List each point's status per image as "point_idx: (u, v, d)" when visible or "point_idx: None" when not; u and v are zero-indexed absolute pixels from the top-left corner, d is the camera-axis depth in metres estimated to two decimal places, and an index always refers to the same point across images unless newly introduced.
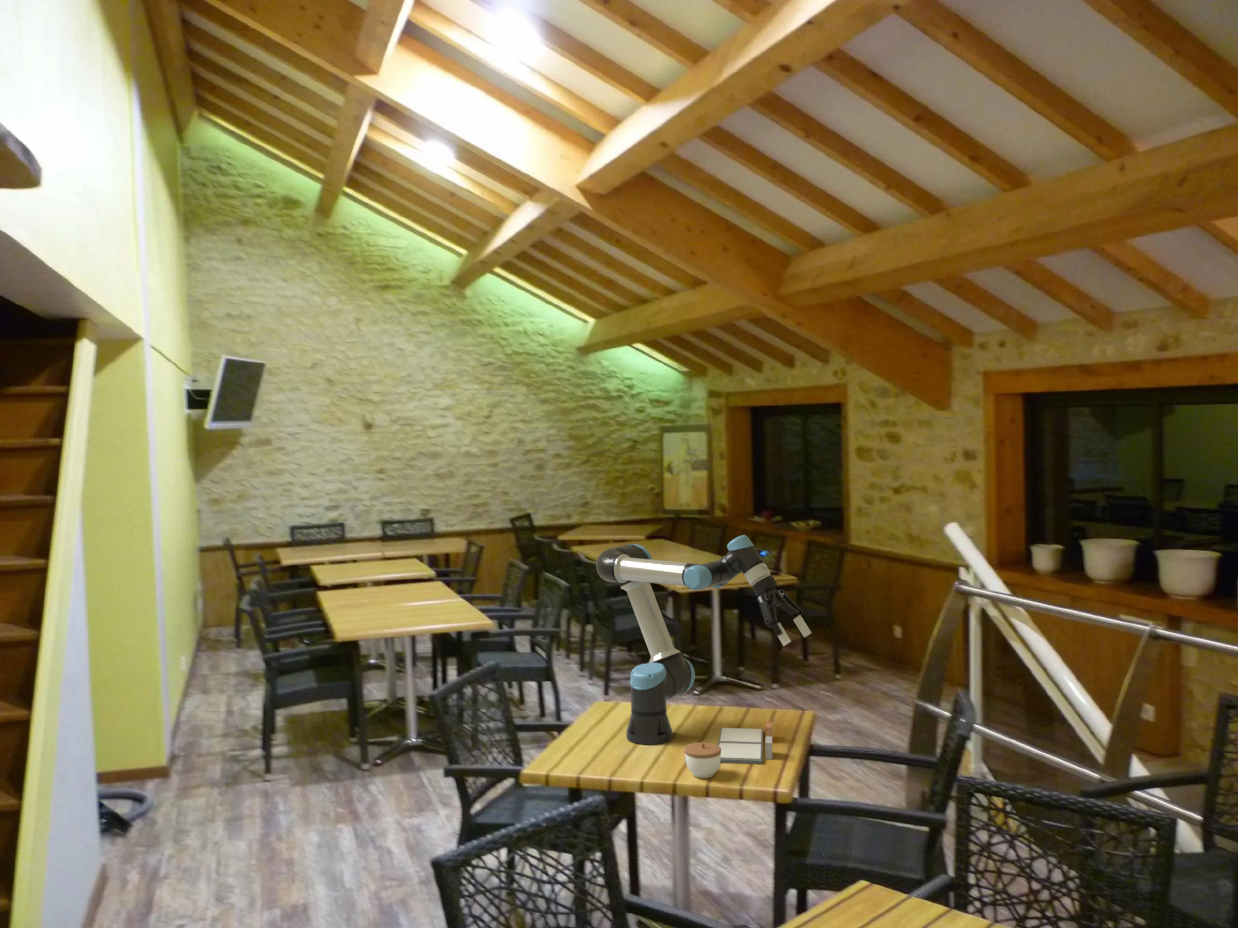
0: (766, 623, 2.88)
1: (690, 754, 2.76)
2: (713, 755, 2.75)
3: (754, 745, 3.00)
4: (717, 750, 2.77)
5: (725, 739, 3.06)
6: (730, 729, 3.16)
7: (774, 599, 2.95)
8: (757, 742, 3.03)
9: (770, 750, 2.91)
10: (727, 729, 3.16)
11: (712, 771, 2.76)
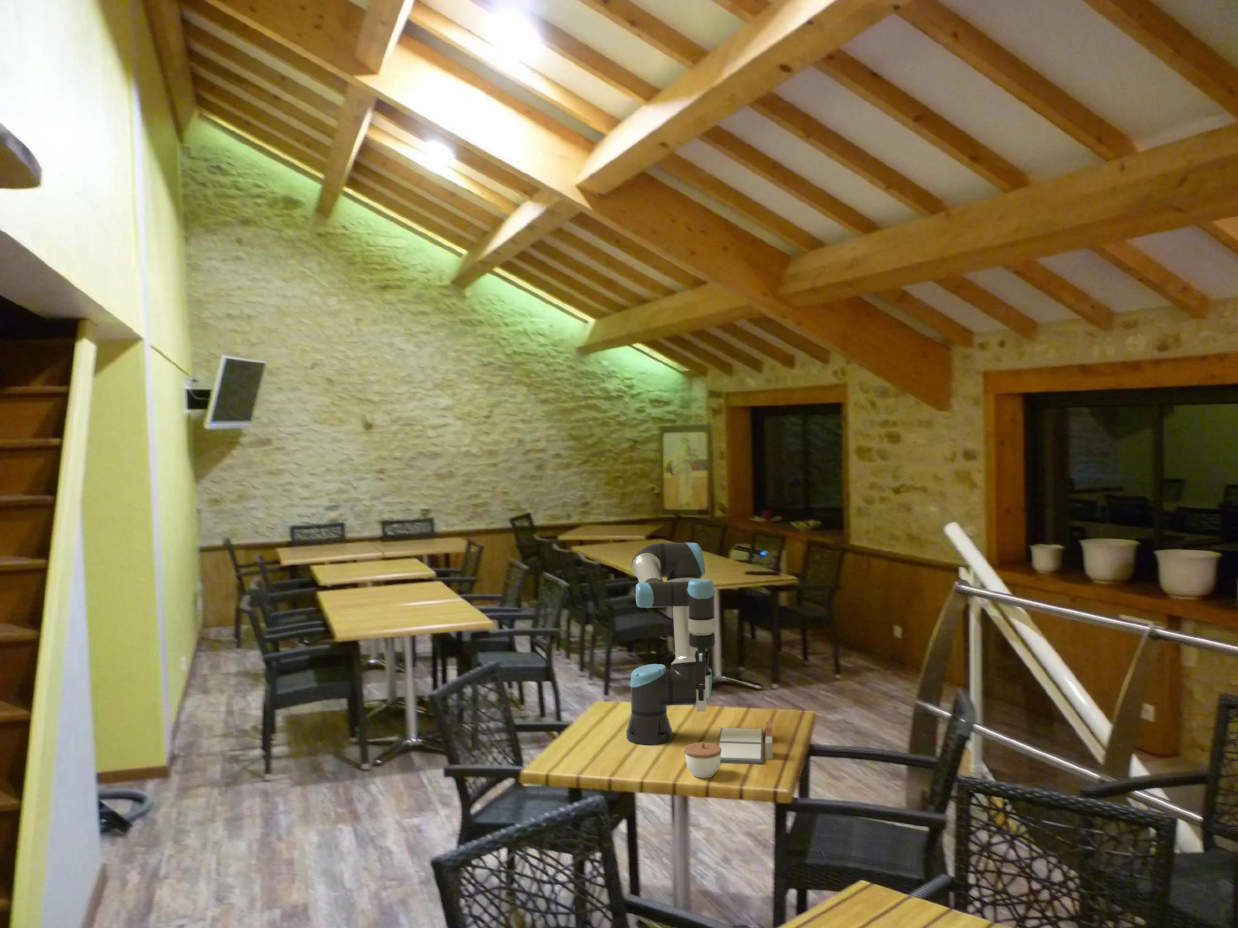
0: (697, 686, 2.69)
1: (690, 754, 2.76)
2: (713, 755, 2.75)
3: (754, 745, 3.00)
4: (717, 750, 2.77)
5: (725, 739, 3.06)
6: (730, 729, 3.16)
7: (707, 660, 2.76)
8: (757, 742, 3.03)
9: (770, 750, 2.91)
10: (727, 729, 3.16)
11: (712, 771, 2.76)
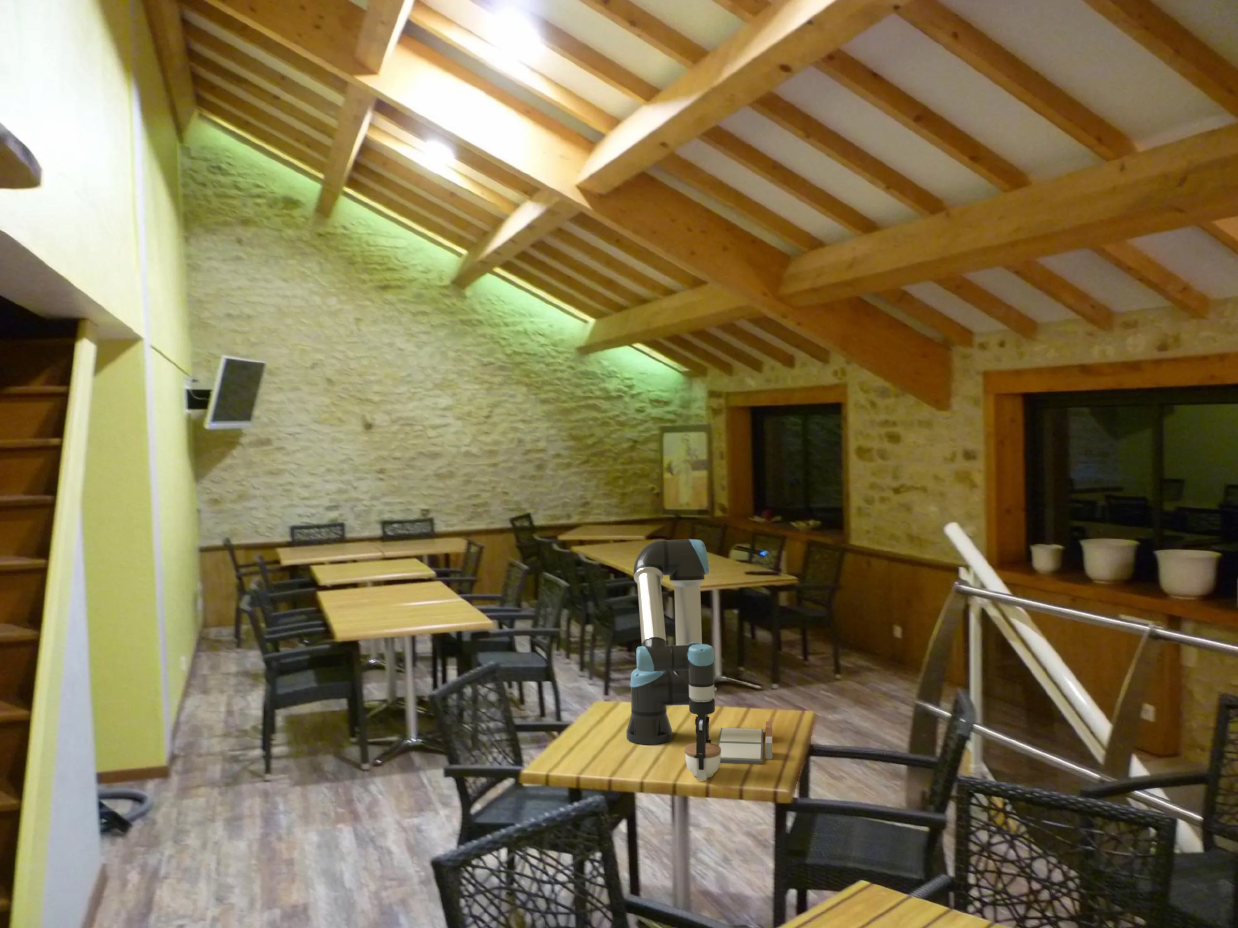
0: (697, 756, 2.71)
1: (690, 754, 2.76)
2: (713, 755, 2.75)
3: (754, 745, 3.00)
4: (717, 750, 2.77)
5: (725, 739, 3.06)
6: (730, 729, 3.16)
7: (707, 726, 2.77)
8: (757, 742, 3.03)
9: (770, 750, 2.91)
10: (727, 729, 3.16)
11: (712, 771, 2.76)
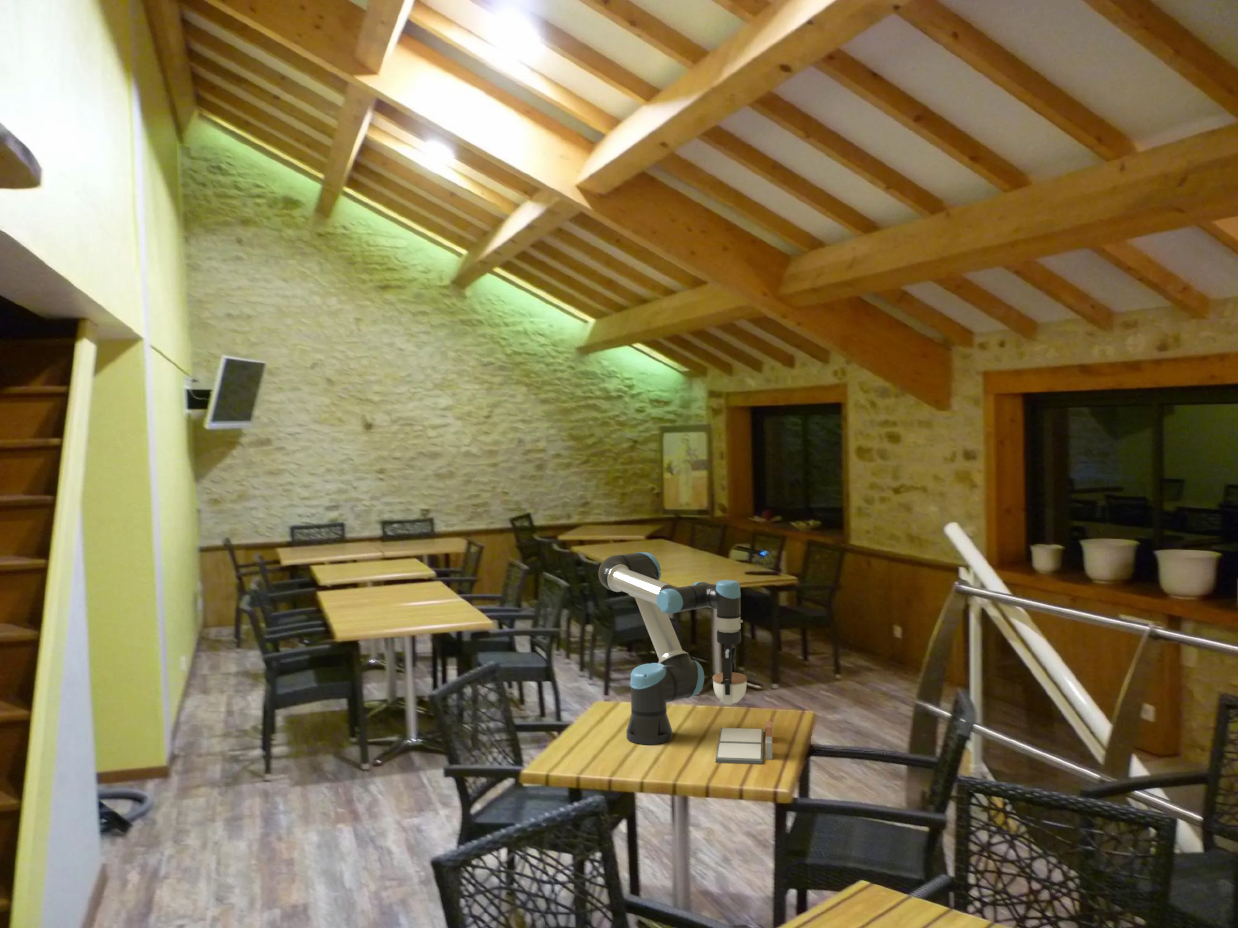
0: (724, 681, 2.91)
1: (717, 681, 2.97)
2: (739, 682, 2.95)
3: (754, 745, 3.00)
4: (743, 678, 2.98)
5: (725, 739, 3.06)
6: (730, 729, 3.16)
7: (733, 655, 2.97)
8: (757, 742, 3.03)
9: (770, 750, 2.91)
10: (727, 729, 3.16)
11: (738, 697, 2.96)
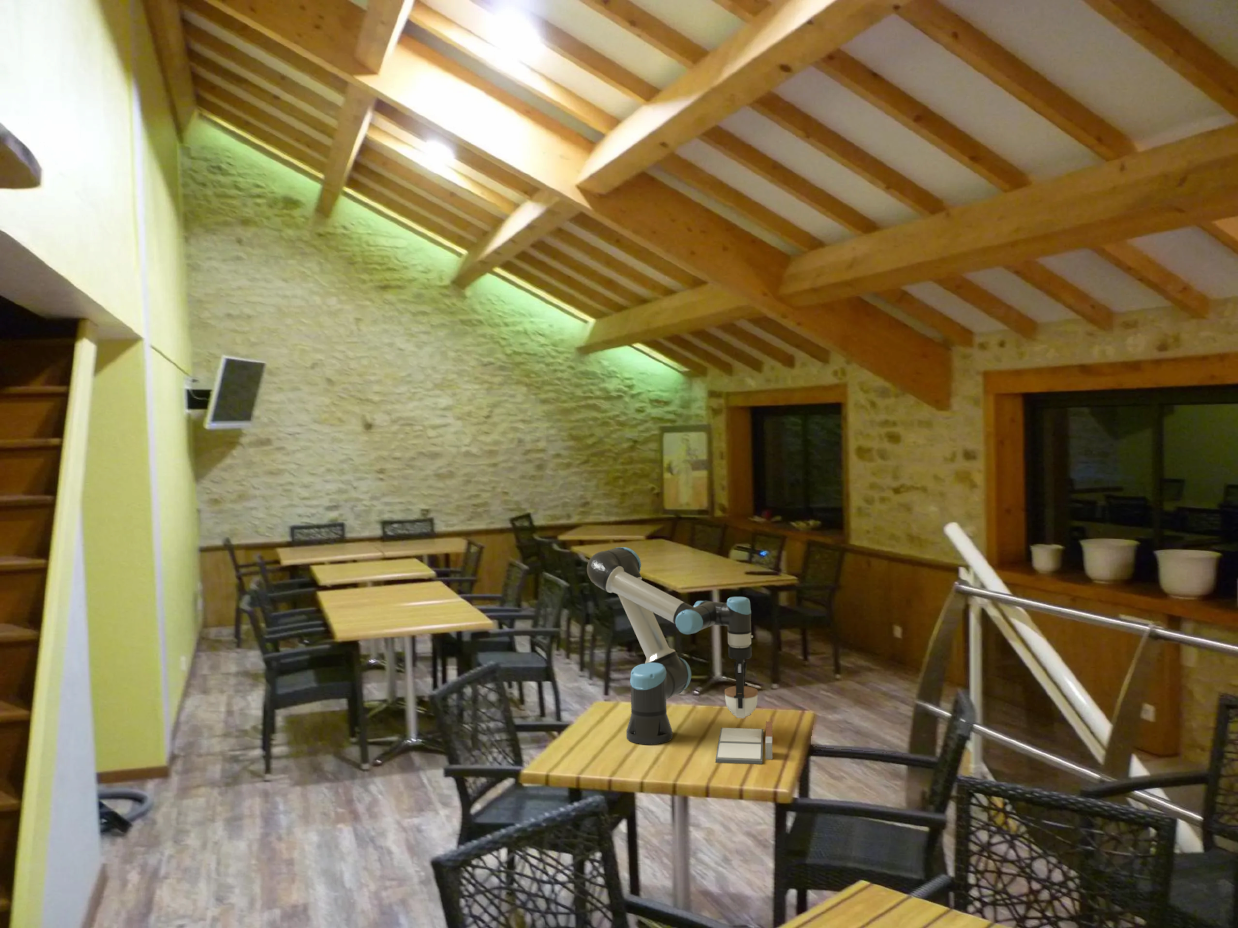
0: (737, 695, 3.01)
1: (730, 695, 3.06)
2: (751, 695, 3.05)
3: (754, 745, 3.00)
4: (754, 691, 3.07)
5: (725, 739, 3.06)
6: (730, 729, 3.16)
7: (745, 670, 3.07)
8: (757, 742, 3.03)
9: (770, 750, 2.91)
10: (727, 729, 3.16)
11: (750, 710, 3.06)
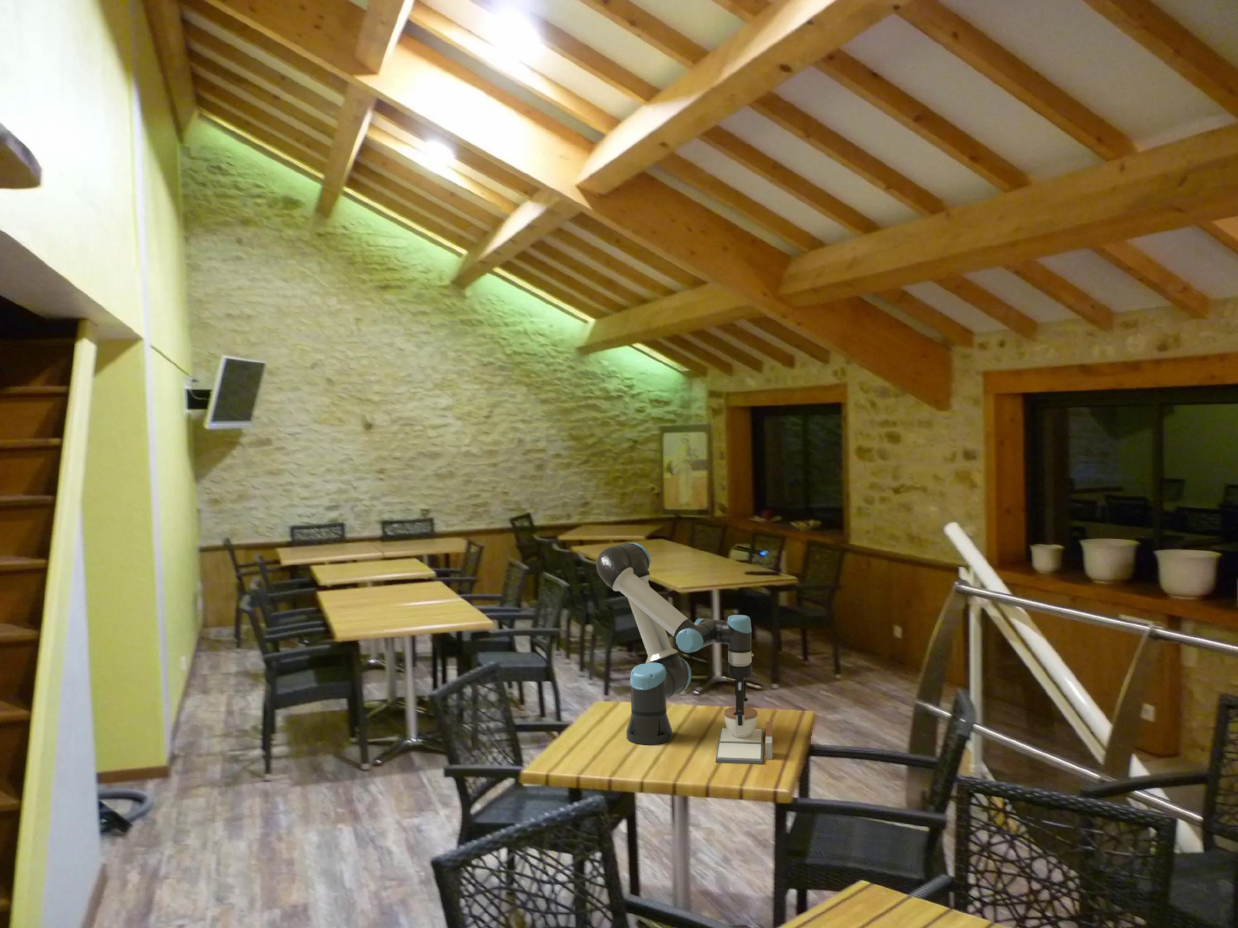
0: (737, 712, 3.00)
1: (730, 716, 3.06)
2: (751, 717, 3.05)
3: (754, 745, 3.00)
4: (754, 713, 3.08)
5: (725, 739, 3.06)
6: None
7: (745, 688, 3.07)
8: (757, 742, 3.03)
9: (770, 750, 2.91)
10: (727, 729, 3.16)
11: (750, 731, 3.06)
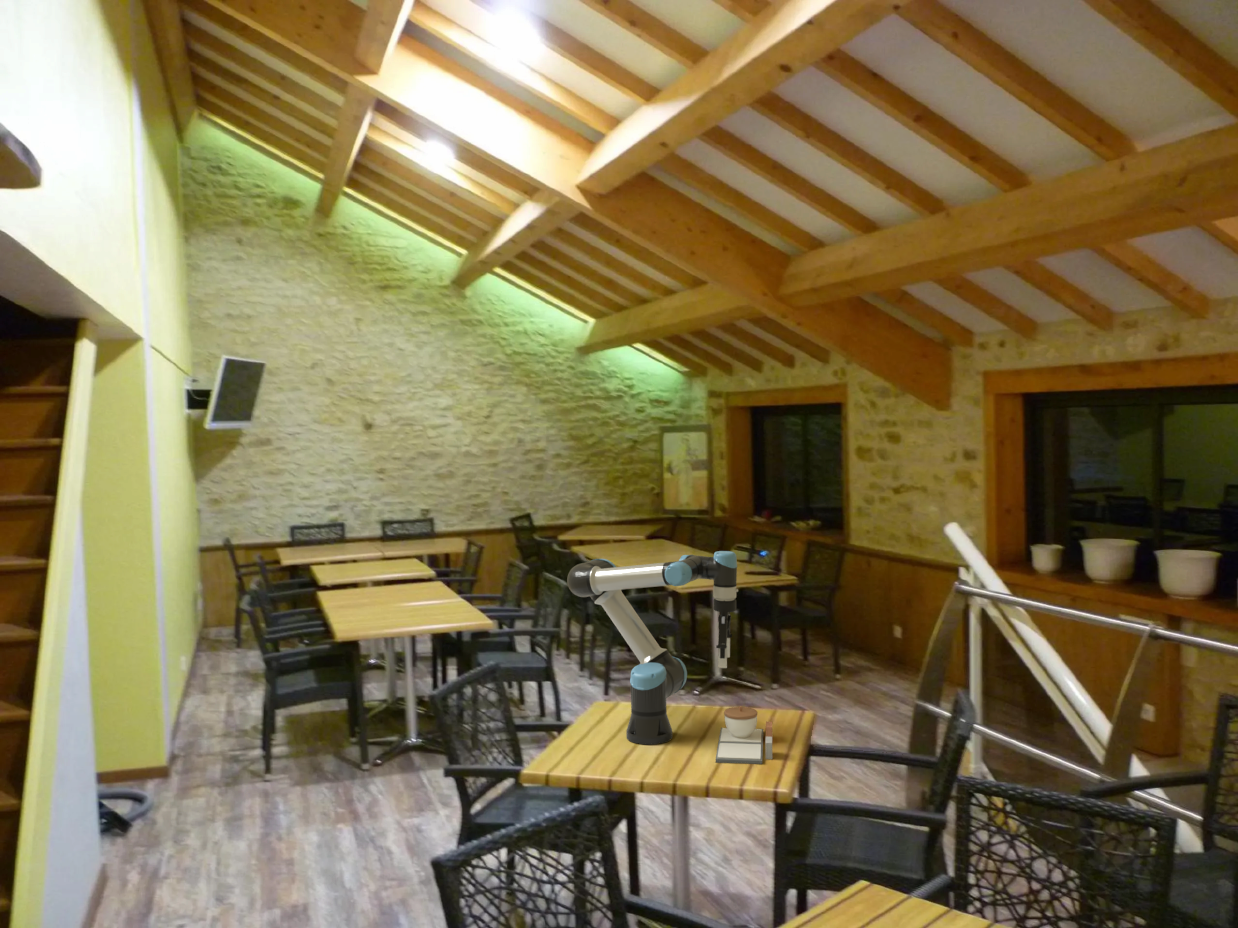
0: (719, 645, 3.04)
1: (730, 716, 3.06)
2: (751, 717, 3.05)
3: (754, 745, 3.00)
4: (754, 713, 3.08)
5: (725, 739, 3.06)
6: None
7: (729, 623, 3.11)
8: (757, 742, 3.03)
9: (770, 750, 2.91)
10: (727, 729, 3.16)
11: (750, 731, 3.06)
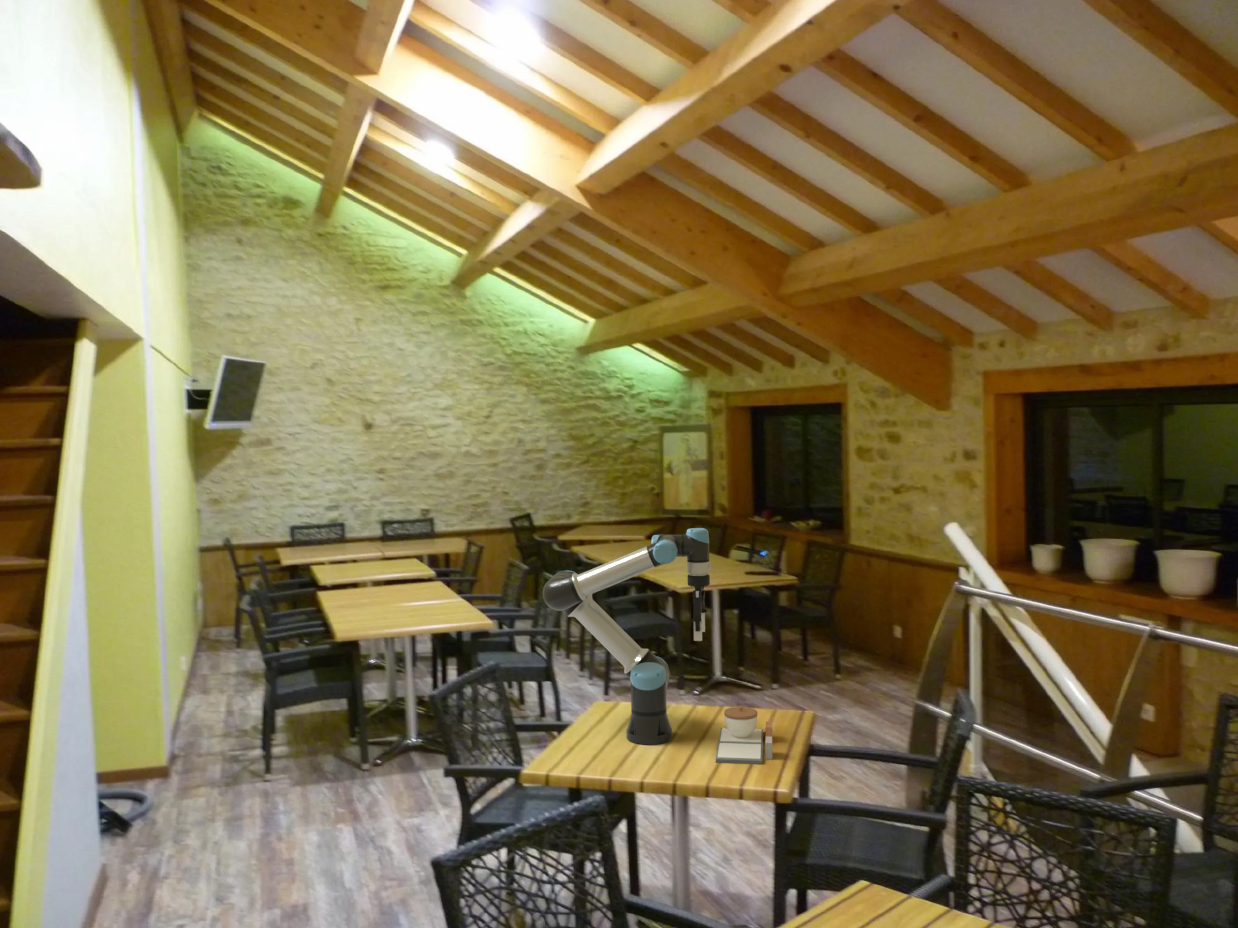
0: (694, 618, 3.13)
1: (730, 716, 3.06)
2: (751, 717, 3.05)
3: (754, 745, 3.00)
4: (754, 713, 3.08)
5: (725, 739, 3.06)
6: None
7: (703, 597, 3.20)
8: (757, 742, 3.03)
9: (770, 750, 2.91)
10: (727, 729, 3.16)
11: (750, 731, 3.06)
